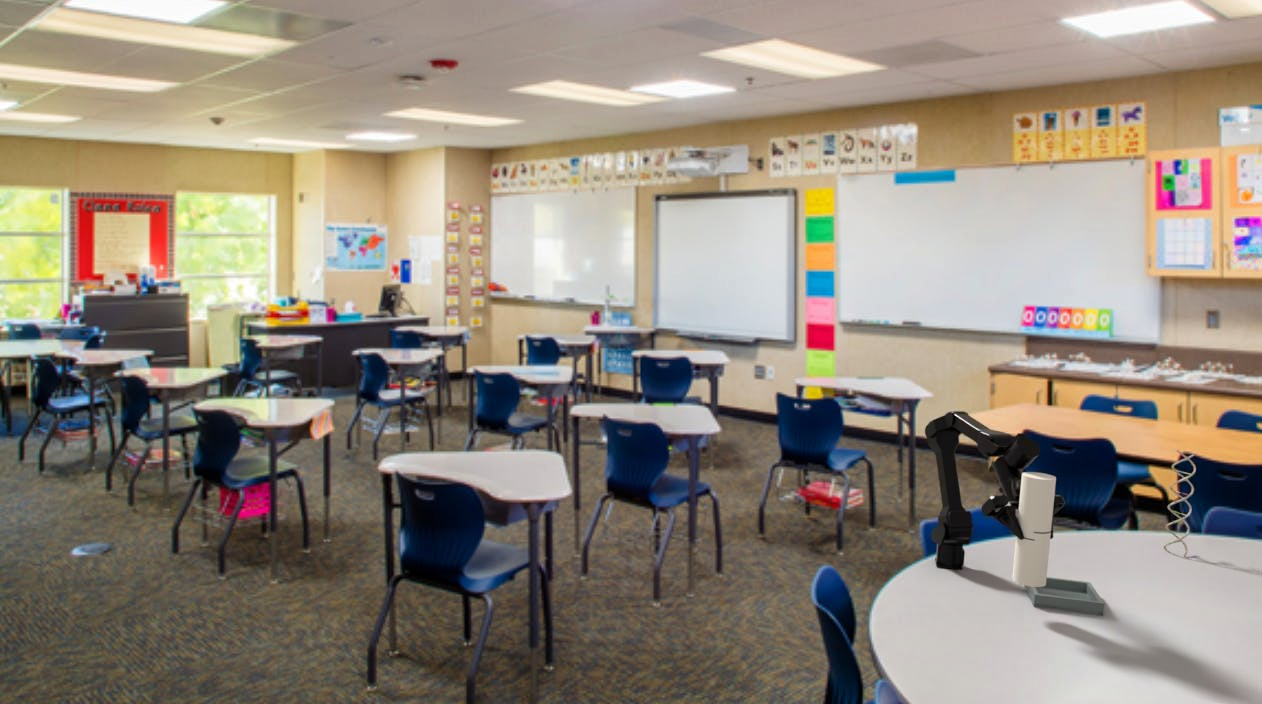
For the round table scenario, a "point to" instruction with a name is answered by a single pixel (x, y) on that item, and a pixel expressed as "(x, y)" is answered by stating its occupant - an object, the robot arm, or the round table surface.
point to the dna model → (1180, 501)
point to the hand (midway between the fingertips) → (1037, 538)
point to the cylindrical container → (1034, 529)
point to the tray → (1067, 596)
